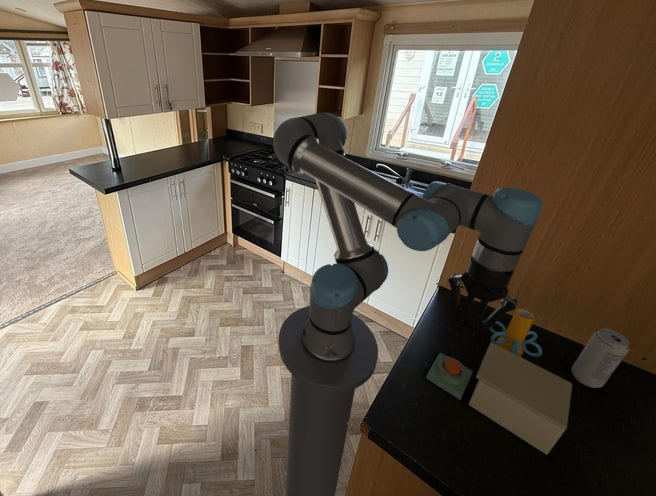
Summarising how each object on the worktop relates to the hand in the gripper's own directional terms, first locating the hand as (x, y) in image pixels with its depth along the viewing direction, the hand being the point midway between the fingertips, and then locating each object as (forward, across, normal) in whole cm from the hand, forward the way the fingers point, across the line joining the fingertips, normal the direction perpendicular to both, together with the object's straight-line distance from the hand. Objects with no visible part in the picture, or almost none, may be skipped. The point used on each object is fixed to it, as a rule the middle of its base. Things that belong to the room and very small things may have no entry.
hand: (460, 342), depth 74 cm
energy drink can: (+12, -25, -24) cm, 37 cm away
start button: (+9, 0, 0) cm, 9 cm away
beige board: (+3, -13, -2) cm, 13 cm away
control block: (+12, 0, 0) cm, 12 cm away
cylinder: (+12, -9, -18) cm, 24 cm away
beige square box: (+12, -13, -2) cm, 18 cm away
